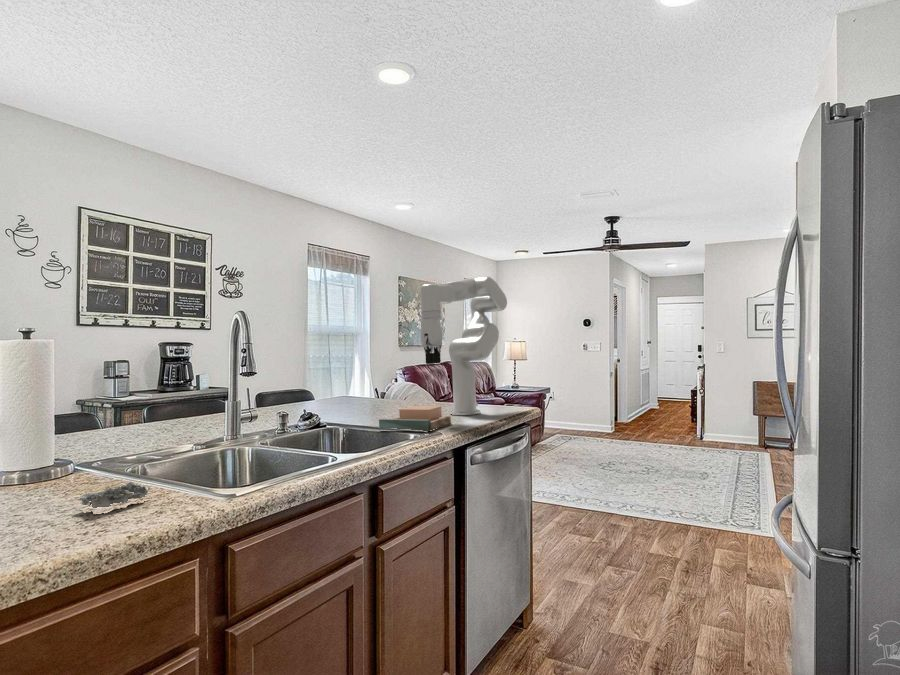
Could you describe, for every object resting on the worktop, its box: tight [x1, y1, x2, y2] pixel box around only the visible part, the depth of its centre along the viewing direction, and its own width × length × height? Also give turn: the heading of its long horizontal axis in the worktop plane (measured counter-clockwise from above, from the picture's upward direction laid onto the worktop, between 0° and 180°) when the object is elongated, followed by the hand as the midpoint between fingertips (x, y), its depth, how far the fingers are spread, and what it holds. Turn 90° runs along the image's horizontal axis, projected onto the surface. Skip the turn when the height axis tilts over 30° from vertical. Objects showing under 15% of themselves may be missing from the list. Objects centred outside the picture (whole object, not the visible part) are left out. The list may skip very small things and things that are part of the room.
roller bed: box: [378, 415, 452, 431], centre depth 195 cm, size 19×19×4 cm
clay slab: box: [398, 405, 443, 421], centre depth 198 cm, size 10×12×4 cm
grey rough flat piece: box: [78, 481, 151, 508], centre depth 107 cm, size 11×8×4 cm
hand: (433, 362), depth 209 cm, fingers open, 5 cm apart
